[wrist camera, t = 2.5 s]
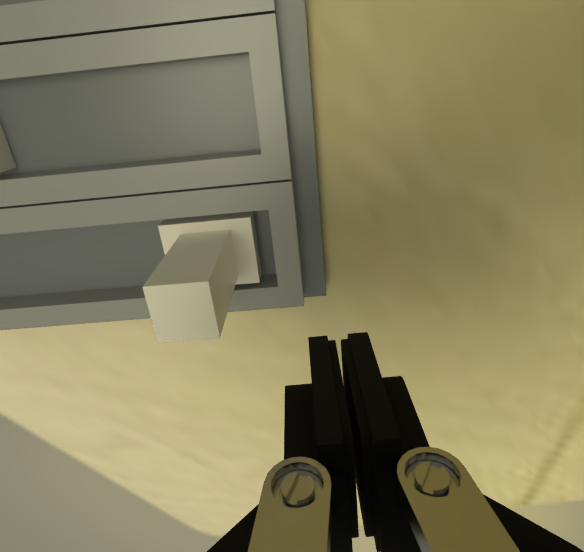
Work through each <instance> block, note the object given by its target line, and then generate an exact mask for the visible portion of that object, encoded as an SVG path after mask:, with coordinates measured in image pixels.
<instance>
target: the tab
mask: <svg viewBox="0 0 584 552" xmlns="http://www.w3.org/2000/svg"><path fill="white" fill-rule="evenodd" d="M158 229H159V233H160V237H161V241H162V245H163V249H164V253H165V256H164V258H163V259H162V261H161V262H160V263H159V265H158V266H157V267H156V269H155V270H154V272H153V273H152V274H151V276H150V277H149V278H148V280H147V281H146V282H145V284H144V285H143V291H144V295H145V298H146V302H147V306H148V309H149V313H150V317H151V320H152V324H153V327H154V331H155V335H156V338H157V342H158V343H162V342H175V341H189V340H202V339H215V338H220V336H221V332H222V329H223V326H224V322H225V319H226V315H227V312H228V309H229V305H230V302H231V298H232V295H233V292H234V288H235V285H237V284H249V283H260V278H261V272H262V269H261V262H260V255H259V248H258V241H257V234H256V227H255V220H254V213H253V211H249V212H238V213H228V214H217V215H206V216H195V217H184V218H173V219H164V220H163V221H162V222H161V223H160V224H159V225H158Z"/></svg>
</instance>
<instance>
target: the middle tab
mask: <svg viewBox="0 0 584 552" xmlns="http://www.w3.org/2000/svg"><path fill="white" fill-rule="evenodd" d="M13 168H16V164H15V161H14V159H13V156H12V153H11V151H10V148H9V145H8V142H7V140H6V137H5V134H4V131H3V129H2V126H1V123H0V173H1V172H4V171H7V170H10V169H13Z"/></svg>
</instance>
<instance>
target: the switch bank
mask: <svg viewBox="0 0 584 552" xmlns="http://www.w3.org/2000/svg"><path fill="white" fill-rule="evenodd" d="M0 123H1V126H2V129H3V131H4V134H5V137H6V140H7V142H8V145H9V148H10V151H11V153H12V156H13V159H14V161H15V164H16V168H13V169H10V170H7V171H4V172H1V173H0V330H9V329H21V328H34V327H46V326H59V325H71V324H84V323H96V322H109V321H121V320H134V319H146V318H151V317H150V313H149V309H148V306H147V302H146V298H145V295H144V291H143V285H144V284H145V282H146V281H147V280H148V278H149V277H150V276H151V274H152V273H153V272H154V270H155V269H156V267H157V266H158V265H159V263H160V262H161V261H162V259H163V258H164V256H165V253H164V249H163V245H162V241H161V237H160V233H159V229H158V225H159V224H160V223H161V222H162V221H163V220H164V219H173V218H184V217H195V216H206V215H217V214H228V213H238V212H249V211H253V213H254V220H255V227H256V234H257V241H258V248H259V255H260V262H261V269H262V272H261V278H260V283H249V284H237V285H235V288H234V292H233V295H232V298H231V302H230V305H229V309H228V312H234V311H246V310H259V309H271V308H284V307H296V306H304V297H313V296H325V295H326V286H325V272H324V258H323V245H322V231H321V217H320V204H319V190H318V176H317V163H316V149H315V135H314V122H313V108H312V94H311V81H310V67H309V53H308V40H307V26H306V12H305V0H0Z"/></svg>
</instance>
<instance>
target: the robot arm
mask: <svg viewBox="0 0 584 552" xmlns="http://www.w3.org/2000/svg"><path fill="white" fill-rule="evenodd" d="M308 339H309V352H310V365H311V377H312V384H301V385H289V386H285V431H284V460H283V461H281V462H279V463H278V464H276V465H275V466H274V467H273V468H272V469H271V470H270V471H269V472H268V474H267V476H266V479H265V481H264V484H263V489H262V493H261V497H260V501H259V504H258V505H257V506H256V507H255V508H254V509H253V510H252V511H251V512H249V513H248V514H247V515H246V516H245V517H244V518H243V519H242V520H241V521H240V522H239V523H237V524H236V525H235V526H234V527H233V528H232V529H231V530H230V531H229V532H228V533H227V534H226V535H224V536H223V537H222V538H221V539H220V540H219V541H218V542H217V543H216V544H215V545H214V546H212V547H211V548H210V549H209V550H208V551H207V552H353V551H352V538H355V537H359V534H358V515H357V496H356V484H357V490H358V496H359V501H360V507H361V513H362V519H363V525H364V531H365V535H366V537H370V536H374V538H375V544H376V549H377V552H380V551H381V552H583V551H582V550H581V549H579V548H577V547H576V546H574V545H572V544H571V543H569V542H567V541H565V540H564V539H562V538H560V537H558V536H557V535H555V534H553V533H551V532H549V531H548V530H546V529H544V528H542V527H541V526H539V525H537V524H535V523H533V522H532V521H530V520H528V519H526V518H524V517H523V516H521V515H519V514H517V513H516V512H514V511H512V510H510V509H508V508H507V507H505V506H503V505H501V504H500V503H498V502H496V501H494V500H492V499H491V498H489V497H487V496H485V495H483V494H482V493H481V491H480V490H479V488H478V486H477V485H476V483H475V482H474V480H473V479H472V477H471V476H470V474H469V473H468V471H467V470H466V468H465V467H464V465H463V464H462V463H461V462H460V461H459V460H458V459H457V458H456V457H454V456H453V455H451V454H450V453H449V452H446V451H444V450H441V449H439V448H432V447H429V444H428V442H427V439H426V436H425V434H424V431H423V429H422V426H421V423H420V421H419V418H418V416H417V413H416V410H415V408H414V405H413V403H412V400H411V398H410V395H409V392H408V390H407V387H406V385H405V382H404V380H403V378H402V377H401V376H396V377H384V378H382V377H381V374H380V370H379V367H378V364H377V361H376V358H375V354H374V351H373V348H372V345H371V342H370V339H369V335H368V333H367V332H364V333H353V334H348V339H342V340H341V351H342V368H343V380H342V375H341V369H340V364H339V358H338V353H337V347H336V342H335V340H331V341H328V338H327V336H318V337H308ZM343 384H344V386H343Z"/></svg>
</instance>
